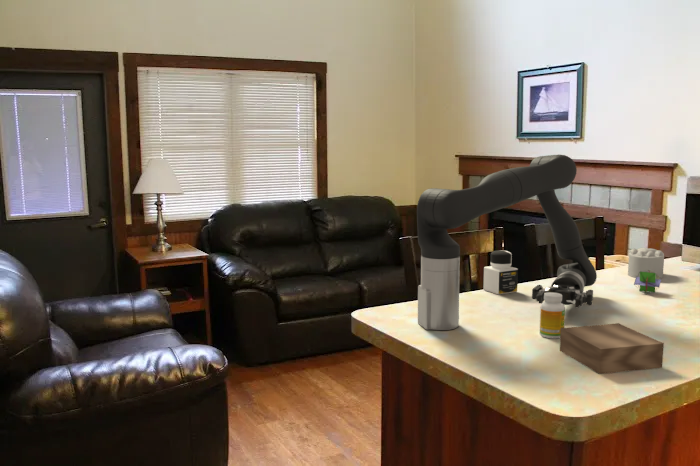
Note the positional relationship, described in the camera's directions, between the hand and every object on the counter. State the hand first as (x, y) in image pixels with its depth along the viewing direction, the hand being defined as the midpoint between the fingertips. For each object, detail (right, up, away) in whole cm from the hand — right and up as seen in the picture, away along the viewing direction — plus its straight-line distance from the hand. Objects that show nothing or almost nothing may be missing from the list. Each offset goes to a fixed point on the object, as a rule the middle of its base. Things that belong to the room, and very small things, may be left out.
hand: (558, 301), depth 153 cm
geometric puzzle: (+36, -1, +32) cm, 49 cm away
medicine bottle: (-6, -1, +36) cm, 36 cm away
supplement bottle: (-4, -7, -7) cm, 11 cm away
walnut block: (+3, -9, -22) cm, 25 cm away
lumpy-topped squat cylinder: (+46, +2, +55) cm, 72 cm away
